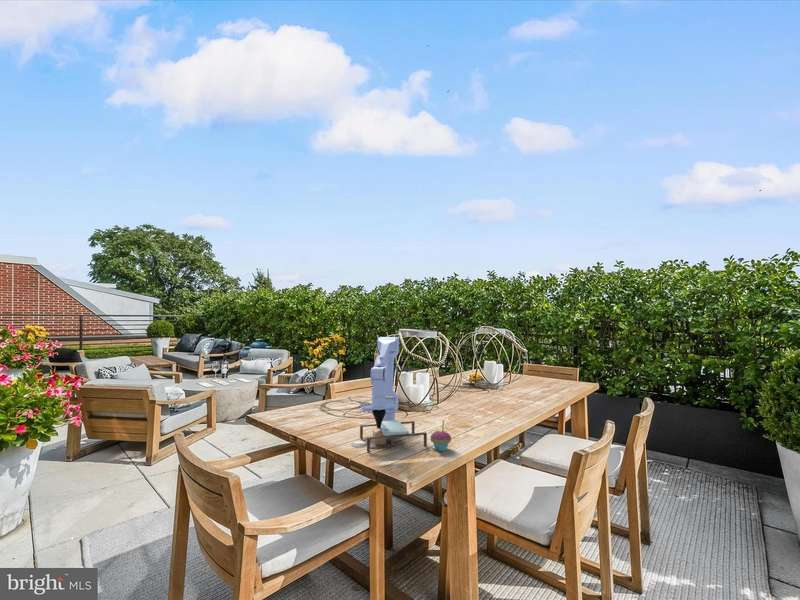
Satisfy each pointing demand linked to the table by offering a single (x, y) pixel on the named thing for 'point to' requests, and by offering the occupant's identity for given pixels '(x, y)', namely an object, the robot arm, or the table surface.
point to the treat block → (378, 433)
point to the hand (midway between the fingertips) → (378, 427)
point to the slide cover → (393, 428)
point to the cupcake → (441, 439)
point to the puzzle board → (389, 442)
